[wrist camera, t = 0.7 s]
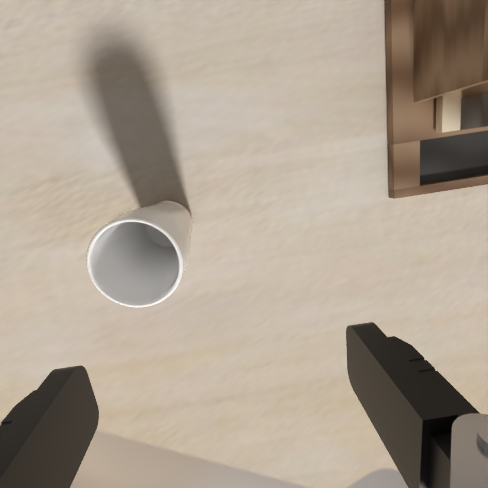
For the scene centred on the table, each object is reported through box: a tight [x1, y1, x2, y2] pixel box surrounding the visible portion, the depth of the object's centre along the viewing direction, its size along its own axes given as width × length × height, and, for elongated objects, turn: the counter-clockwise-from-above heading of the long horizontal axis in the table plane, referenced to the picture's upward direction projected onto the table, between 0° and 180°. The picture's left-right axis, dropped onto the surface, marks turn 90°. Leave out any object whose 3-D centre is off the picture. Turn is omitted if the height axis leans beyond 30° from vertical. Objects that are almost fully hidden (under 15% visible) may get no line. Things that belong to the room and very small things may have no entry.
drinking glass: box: [86, 201, 193, 307], centre depth 29 cm, size 7×7×15 cm
